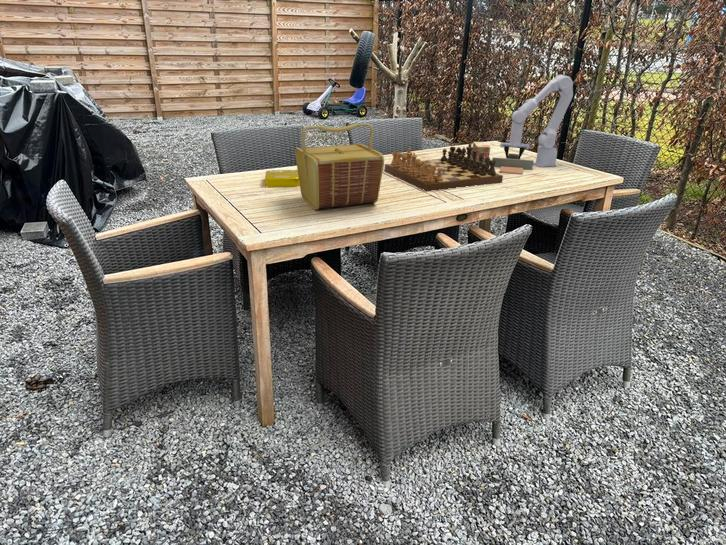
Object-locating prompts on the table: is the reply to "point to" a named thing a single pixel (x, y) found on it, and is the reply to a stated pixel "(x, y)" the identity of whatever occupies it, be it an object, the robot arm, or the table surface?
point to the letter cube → (513, 156)
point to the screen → (513, 163)
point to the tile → (511, 170)
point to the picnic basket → (339, 172)
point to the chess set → (444, 169)
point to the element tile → (282, 178)
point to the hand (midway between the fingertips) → (512, 161)
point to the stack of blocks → (481, 149)
